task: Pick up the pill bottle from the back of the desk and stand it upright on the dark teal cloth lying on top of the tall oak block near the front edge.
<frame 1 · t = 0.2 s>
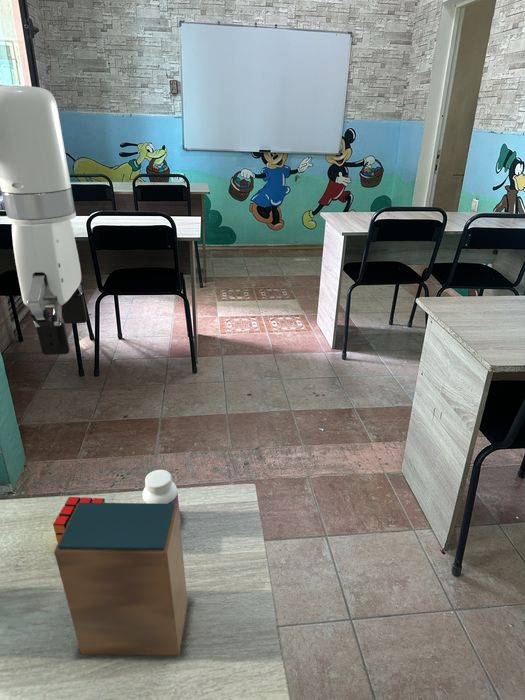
hand: (66, 336, 64), 33 cm above the table, tool pointing down, fingers open, 9 cm apart
puzzle toy: (85, 539, 75), on the table
cloth: (119, 526, 54), resting on stand
stand: (137, 628, 62), on the table
pill bottle: (164, 525, 77), on the table
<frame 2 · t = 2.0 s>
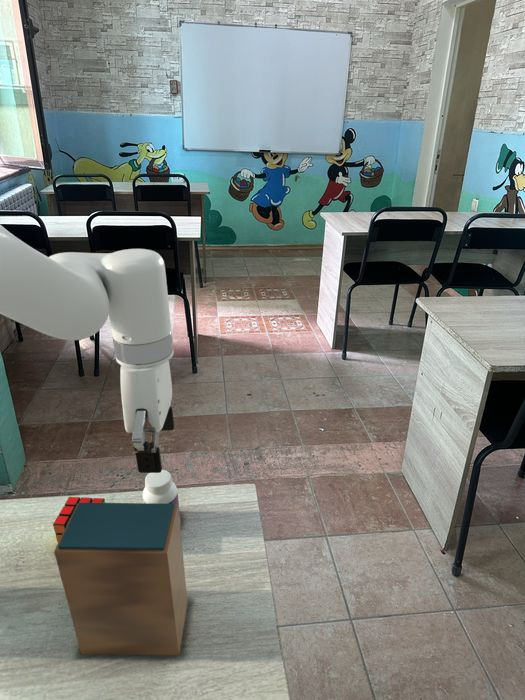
hand: (157, 449, 71), 15 cm above the table, tool pointing down, fingers open, 9 cm apart
nothing on the table moved.
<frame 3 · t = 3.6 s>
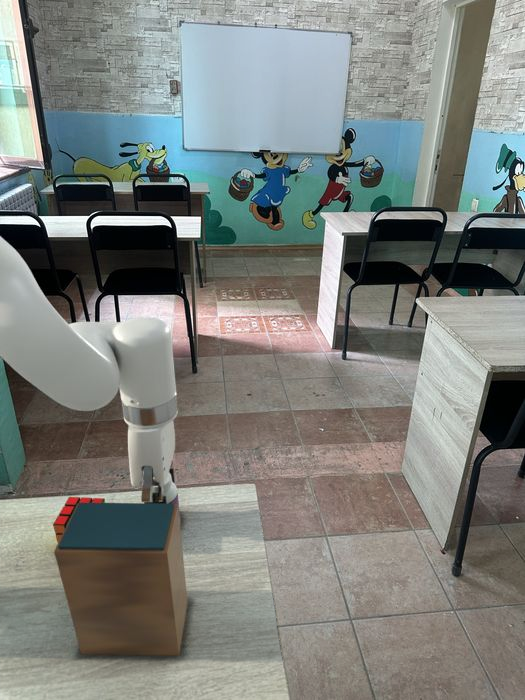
hand: (161, 501, 75), 5 cm above the table, tool pointing down, fingers closed on pill bottle, 5 cm apart
pill bottle: (164, 525, 77), on the table, touching gripper
everything else where it was.
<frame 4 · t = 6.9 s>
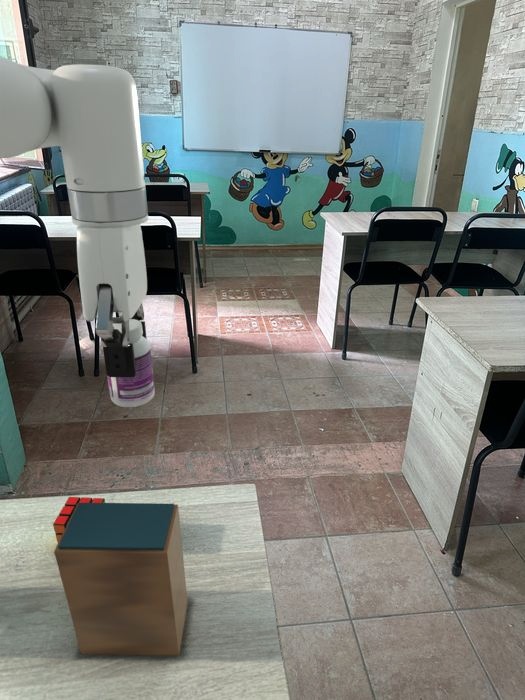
hand: (128, 361, 57), 33 cm above the table, tool pointing down, fingers closed on pill bottle, 5 cm apart
pill bottle: (133, 398, 59), point 28 cm above the table, touching gripper
everything else where it was.
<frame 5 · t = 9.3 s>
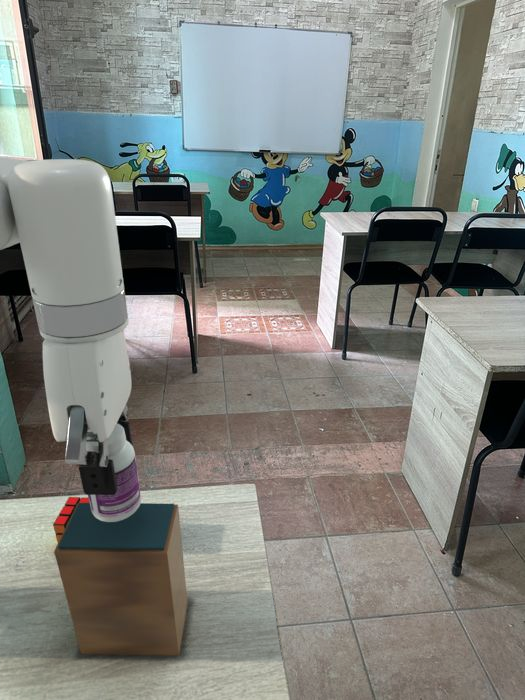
hand: (110, 470, 50), 26 cm above the table, tool pointing down, fingers closed on pill bottle, 5 cm apart
pill bottle: (117, 506, 52), point 21 cm above the table, touching gripper
everything else where it was.
when the fingers open (23 cm above the table, at t = 10.5 s): pill bottle stays where it is, resting on cloth.
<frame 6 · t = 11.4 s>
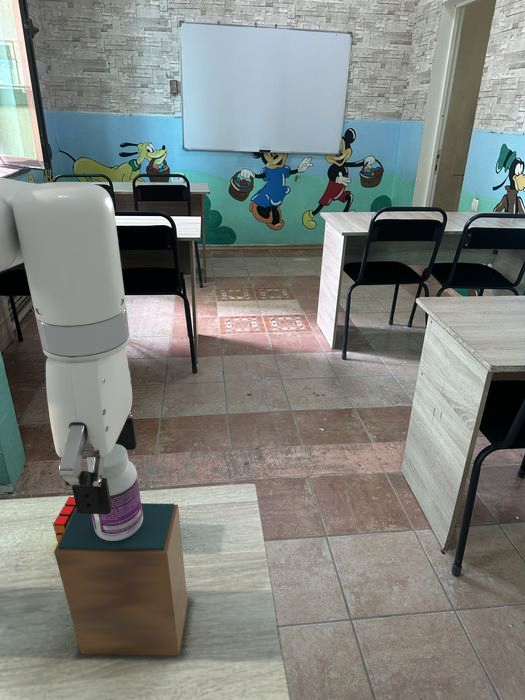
hand: (109, 477, 51), 25 cm above the table, tool pointing down, fingers open, 9 cm apart
pill bottle: (119, 525, 54), point 18 cm above the table, touching cloth
everything else where it was.
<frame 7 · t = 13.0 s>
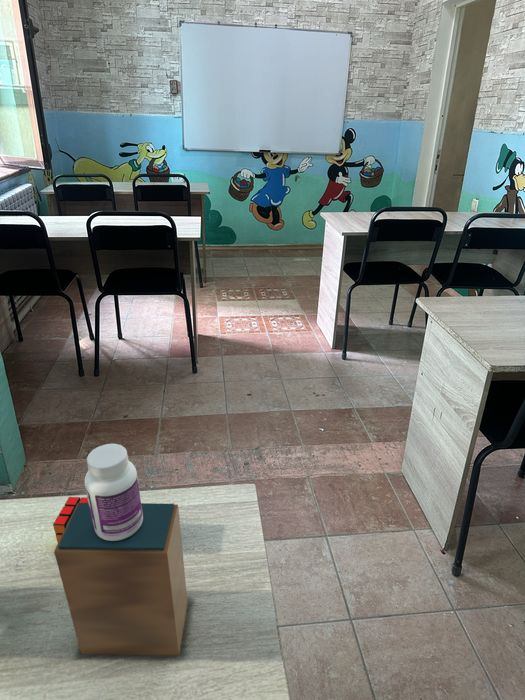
nothing on the table moved.
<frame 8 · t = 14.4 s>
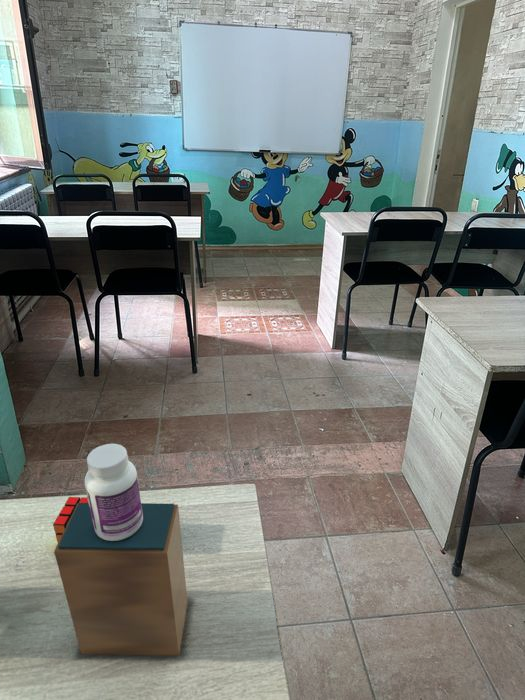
nothing on the table moved.
at the end: pill bottle 0.0 cm off-centre on the cloth, point 0.2 cm above the cloth's base; pill bottle tilted 0°; the gripper is holding nothing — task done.
